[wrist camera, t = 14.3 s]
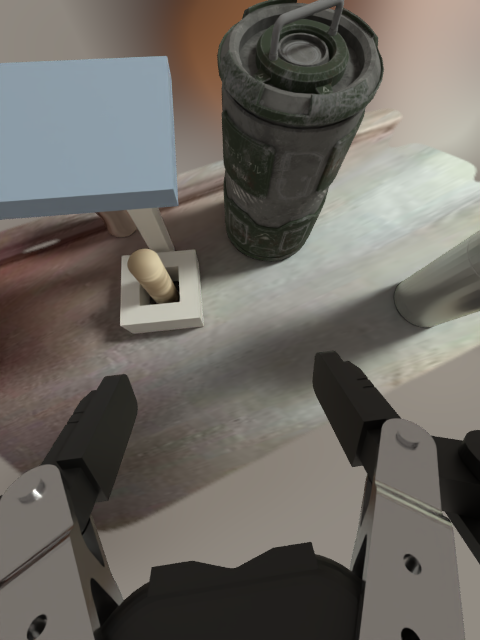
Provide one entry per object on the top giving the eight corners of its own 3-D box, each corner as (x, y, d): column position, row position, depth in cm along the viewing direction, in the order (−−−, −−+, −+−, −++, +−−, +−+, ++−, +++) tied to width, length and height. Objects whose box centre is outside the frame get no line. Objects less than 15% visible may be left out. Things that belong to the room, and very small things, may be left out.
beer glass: (99, 237, 45) (36, 164, 31) (110, 206, 47) (56, 124, 33) (136, 242, 45) (91, 171, 31) (145, 211, 47) (107, 131, 33)
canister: (259, 279, 44) (299, 97, 17) (209, 218, 47) (176, -14, 20) (325, 235, 47) (449, 21, 20) (273, 181, 50) (319, -65, 23)
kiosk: (125, 334, 40) (-61, 232, 15) (127, 251, 44) (-15, 63, 19) (211, 325, 41) (174, 214, 16) (204, 245, 45) (166, 56, 20)
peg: (177, 285, 43) (156, 245, 31) (182, 305, 42) (162, 272, 30) (154, 291, 42) (124, 253, 31) (159, 312, 41) (130, 280, 30)
